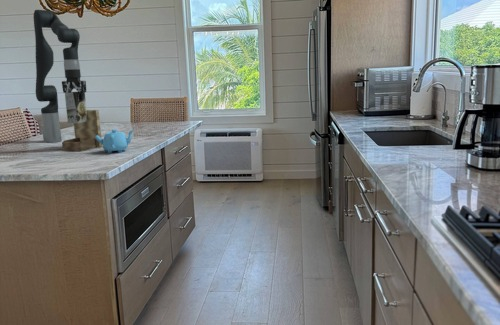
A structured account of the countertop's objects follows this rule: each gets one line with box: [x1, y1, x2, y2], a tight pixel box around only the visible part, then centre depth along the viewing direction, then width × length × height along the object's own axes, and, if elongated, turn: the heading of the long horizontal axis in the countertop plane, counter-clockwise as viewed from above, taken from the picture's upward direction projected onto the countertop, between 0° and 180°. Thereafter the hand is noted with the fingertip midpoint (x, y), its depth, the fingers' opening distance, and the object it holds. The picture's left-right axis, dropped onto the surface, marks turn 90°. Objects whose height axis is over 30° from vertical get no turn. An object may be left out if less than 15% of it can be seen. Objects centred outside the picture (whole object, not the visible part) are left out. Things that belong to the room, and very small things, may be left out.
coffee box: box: [64, 91, 88, 124], centre depth 229 cm, size 9×6×16 cm
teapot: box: [95, 129, 135, 154], centre depth 221 cm, size 15×14×11 cm
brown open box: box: [61, 137, 98, 152], centre depth 233 cm, size 12×12×5 cm
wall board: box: [73, 109, 103, 148], centre depth 237 cm, size 16×2×20 cm, turn 69°
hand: (75, 101), depth 229 cm, fingers closed on coffee box, 7 cm apart
